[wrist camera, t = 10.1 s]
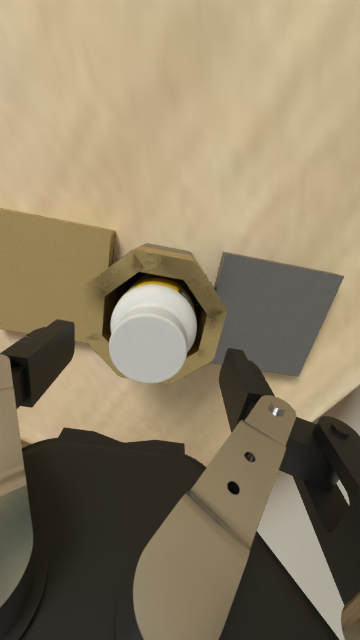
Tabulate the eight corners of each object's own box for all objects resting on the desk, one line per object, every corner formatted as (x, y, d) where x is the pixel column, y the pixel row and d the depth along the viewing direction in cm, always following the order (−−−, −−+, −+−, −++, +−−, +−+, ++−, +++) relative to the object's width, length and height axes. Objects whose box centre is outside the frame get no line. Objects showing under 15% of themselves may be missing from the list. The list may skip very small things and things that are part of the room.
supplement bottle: (204, 292, 20) (224, 343, 11) (168, 335, 22) (160, 411, 13) (154, 254, 19) (131, 277, 10) (120, 303, 21) (73, 362, 12)
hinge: (334, 273, 20) (396, 291, 14) (292, 369, 23) (328, 413, 18) (-15, 205, 18) (-104, 194, 12) (-1, 322, 21) (-64, 355, 16)
